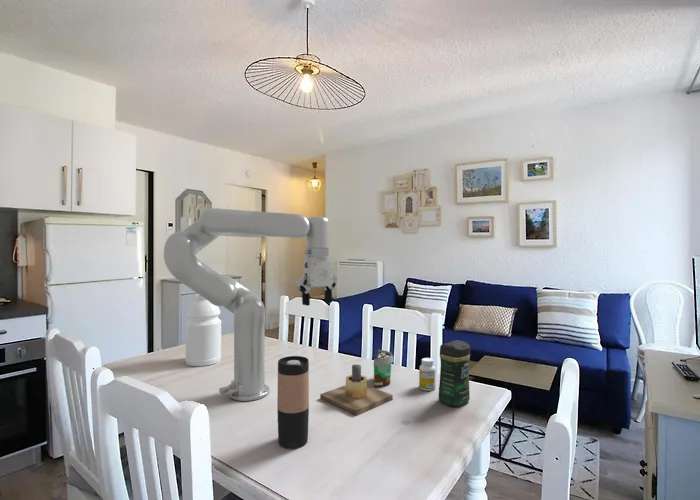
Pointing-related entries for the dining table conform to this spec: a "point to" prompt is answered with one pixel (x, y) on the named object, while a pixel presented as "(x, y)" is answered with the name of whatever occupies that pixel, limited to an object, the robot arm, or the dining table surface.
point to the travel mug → (293, 401)
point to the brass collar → (356, 388)
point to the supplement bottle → (427, 375)
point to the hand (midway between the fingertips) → (317, 303)
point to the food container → (382, 368)
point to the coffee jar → (454, 373)
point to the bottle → (203, 333)
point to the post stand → (356, 405)
